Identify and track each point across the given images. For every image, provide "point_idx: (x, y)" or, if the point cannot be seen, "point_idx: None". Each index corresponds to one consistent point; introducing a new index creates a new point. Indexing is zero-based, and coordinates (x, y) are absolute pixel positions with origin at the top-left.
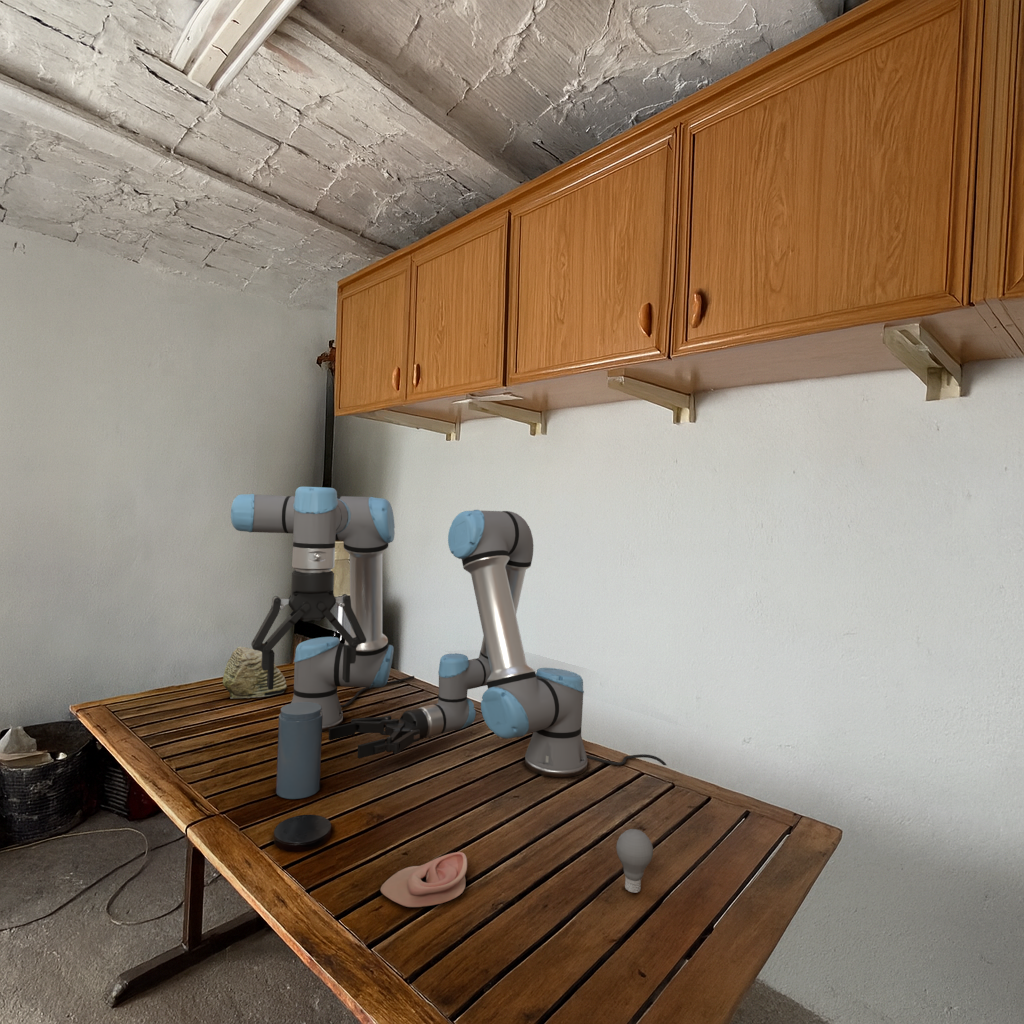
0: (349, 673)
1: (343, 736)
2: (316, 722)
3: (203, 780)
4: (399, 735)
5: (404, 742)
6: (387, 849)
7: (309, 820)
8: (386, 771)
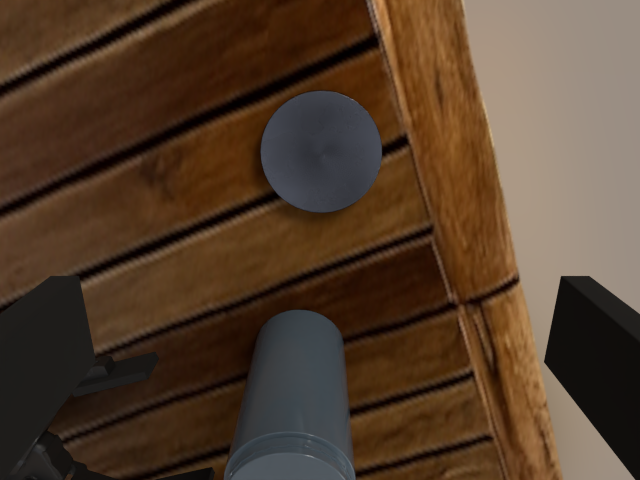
0: (13, 306)
1: (177, 476)
2: (250, 432)
3: (465, 440)
4: None
5: None
6: (153, 23)
7: (302, 182)
8: None
